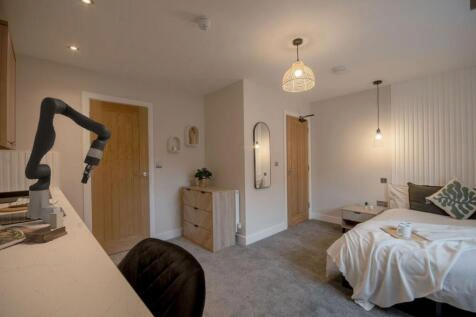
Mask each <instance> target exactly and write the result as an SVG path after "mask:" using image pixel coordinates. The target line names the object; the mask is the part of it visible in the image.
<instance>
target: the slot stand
mask: <svg viewBox="0 0 476 317" xmlns="http://www.w3.org/2000/svg"><path fill="white" fill-rule="evenodd" d="M66 227H67V226H64V225H63V227H60V228H57V229H51V226H50V225H47V226H44V227H41V228H39V229H35V230H33V231H30V232H27V233H25V238H24V239H23V243H38V244H39V243H41V244H42V243H44V244H48V243H49V242H52V241H54V240H57V239H58V238H62V237H63V236H66V235H67V234H68V231H66Z"/></svg>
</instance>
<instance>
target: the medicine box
mask: <svg viewBox="0 0 476 317" xmlns="http://www.w3.org/2000/svg"><path fill="white" fill-rule="evenodd" d="M53 212H61V206H52V205H51V206H50V205H49V206H48V207H44V208H41V213H42V218H41V223H45V224H50V213H53Z"/></svg>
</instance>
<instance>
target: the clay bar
mask: <svg viewBox="0 0 476 317" xmlns="http://www.w3.org/2000/svg"><path fill="white" fill-rule="evenodd" d="M49 226H51V230H55V229H58V228H61V227H63V226H64V211H60V212H53V213H50V223H49Z"/></svg>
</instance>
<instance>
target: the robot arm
mask: <svg viewBox="0 0 476 317" xmlns="http://www.w3.org/2000/svg"><path fill="white" fill-rule="evenodd" d="M39 109H40V110H39V119H38V123H37V128H36V132H35V135H34V139H33V146H32V149H31V151H30V152H31V153H30V155H29V158H28V160H27V163H26V166H25V169H24V175H25V178H26V179H28V180H37V181H36V182H35V183H33V184H31V185H29V187H28V202H27V203H26V204H27V205H26V207H27V213H26V214H27V215H26V216H27V218H30V219H29V220H38V218H40V219H42V213H41V208H44V207H48V206H50V186H51V180H52V179H51V178H52V171H51V170H52V169H51V167H50V165H49V164H47V163H41V161H42V159H43V158H44V157H45V156H46V155H47V154H48V153H49V152H50V151H51V150H52V149H53V147H54V145H55V142H56V137H57V133H56V130H55V126H54V118H55V115H61V116H64V117H66V118H68V119H70V120H72V121H73V122H74V123H75V124H76V125H78V126H79V127H81V128H83V129H84V130H87V131H88V132H92V133H94V134H95V135H97V137H96V139H93V140H92V141H91V144H90V147H89V149H88V151H87V153H86V155H85V158H84V161H83V163H84V164H86V165H85V167H84V171H83V173H82V179H81V180H80V183H81V184H85V185H86V184H88V181H89V179H90V178H91V175H92V174H93V172H94V167H98V166H99V165H100V162H101V160H102V156H103V153H104V150H105V148H106V145H107V144H108V142H109V140H110V139H111V136H112V131H111V130H110V129H109V128H108V127H107V125H104V124H102V123H100V122H97V121H95V120H94V119H92V118H91V117H89V116H87V115H85V114H83V113H80V112H79V111H77V110H76V109H74V108H72V106H71V105H69V104H68V103H66V102H65V101H63V99H59V98H55V97H52V96H51V97H50V96H46V97H44V98H42V101H41V102H40V106H39Z"/></svg>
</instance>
